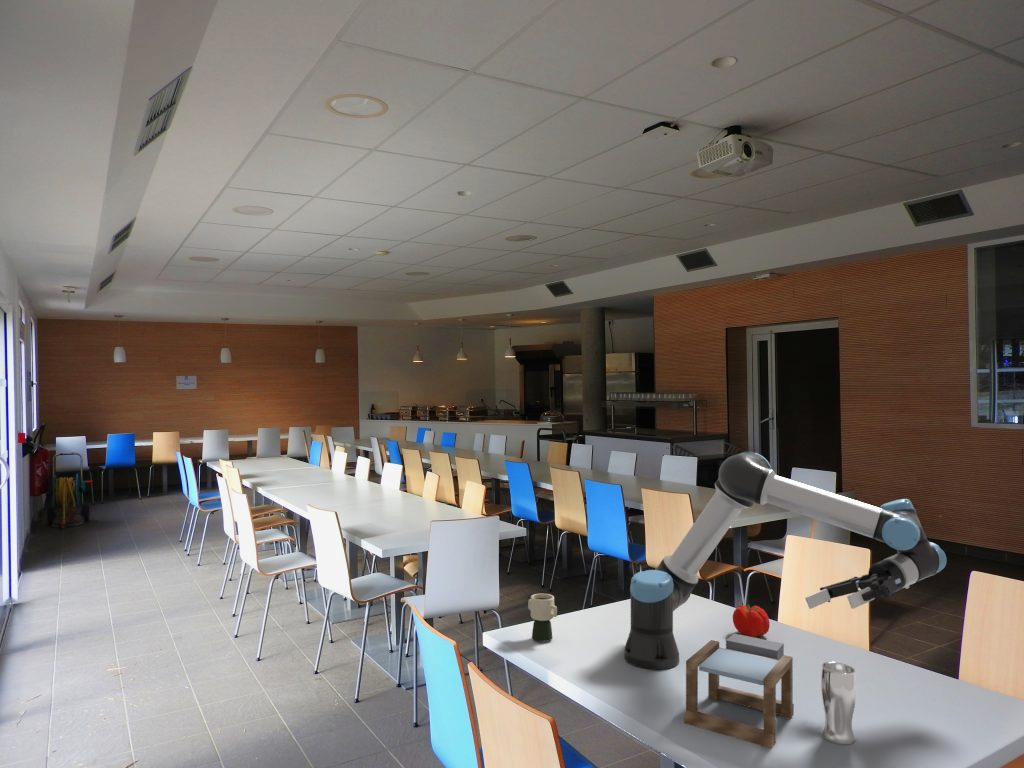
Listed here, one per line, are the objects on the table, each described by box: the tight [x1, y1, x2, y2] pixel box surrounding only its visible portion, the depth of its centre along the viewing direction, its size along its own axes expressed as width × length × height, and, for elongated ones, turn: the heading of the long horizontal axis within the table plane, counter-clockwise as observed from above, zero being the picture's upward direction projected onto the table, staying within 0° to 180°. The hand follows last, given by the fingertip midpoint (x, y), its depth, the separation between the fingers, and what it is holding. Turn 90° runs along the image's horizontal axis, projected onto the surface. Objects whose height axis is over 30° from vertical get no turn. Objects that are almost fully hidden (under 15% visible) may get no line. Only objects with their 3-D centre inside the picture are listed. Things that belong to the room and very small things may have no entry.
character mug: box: [527, 593, 558, 642], centre depth 207 cm, size 11×7×13 cm, turn 48°
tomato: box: [732, 604, 771, 638], centre depth 213 cm, size 11×11×9 cm
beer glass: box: [820, 661, 857, 746], centre depth 148 cm, size 7×7×15 cm
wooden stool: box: [683, 639, 795, 749], centre depth 157 cm, size 19×19×14 cm
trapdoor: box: [698, 633, 785, 686], centre depth 160 cm, size 14×22×4 cm, turn 145°
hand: (828, 602), depth 160 cm, fingers open, 13 cm apart
